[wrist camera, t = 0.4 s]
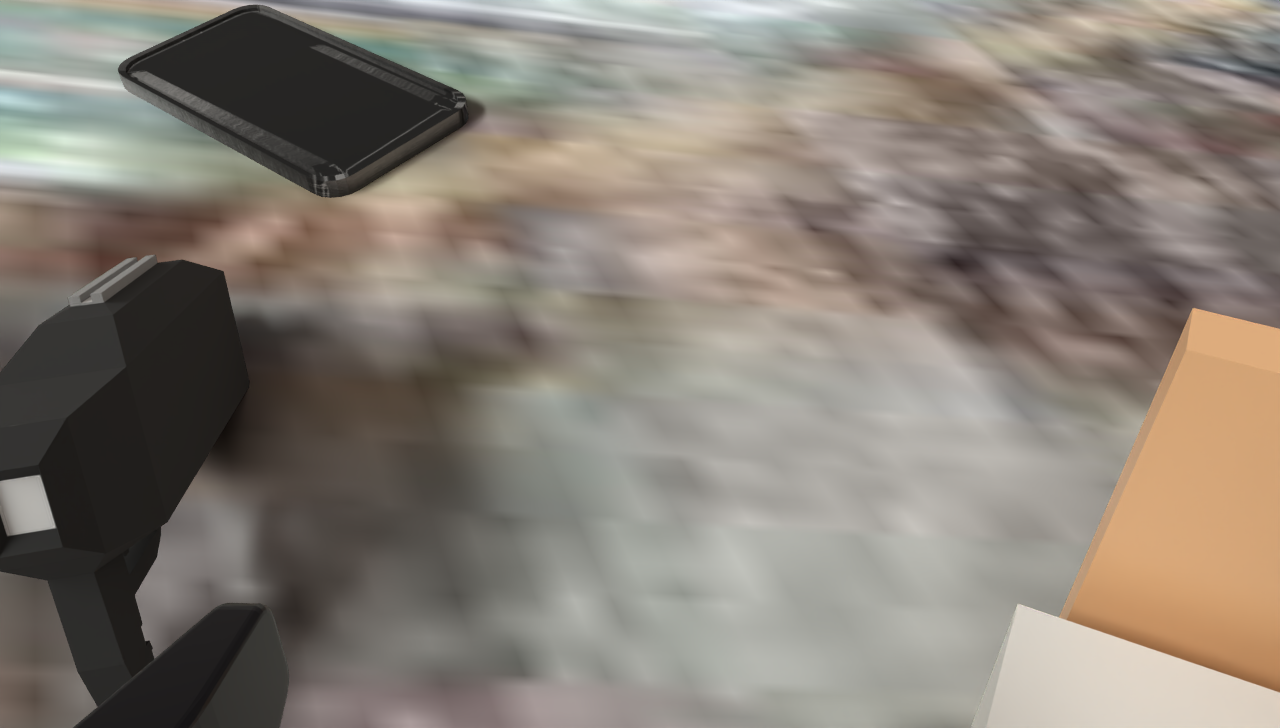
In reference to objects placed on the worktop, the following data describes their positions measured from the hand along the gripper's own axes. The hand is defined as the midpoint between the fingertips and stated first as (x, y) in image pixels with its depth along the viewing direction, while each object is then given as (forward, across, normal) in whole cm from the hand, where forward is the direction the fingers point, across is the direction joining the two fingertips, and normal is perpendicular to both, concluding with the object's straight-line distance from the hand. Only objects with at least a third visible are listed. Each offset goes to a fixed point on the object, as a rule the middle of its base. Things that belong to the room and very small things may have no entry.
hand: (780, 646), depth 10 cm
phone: (+38, +18, +9) cm, 43 cm away
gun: (+17, +15, +13) cm, 26 cm away
